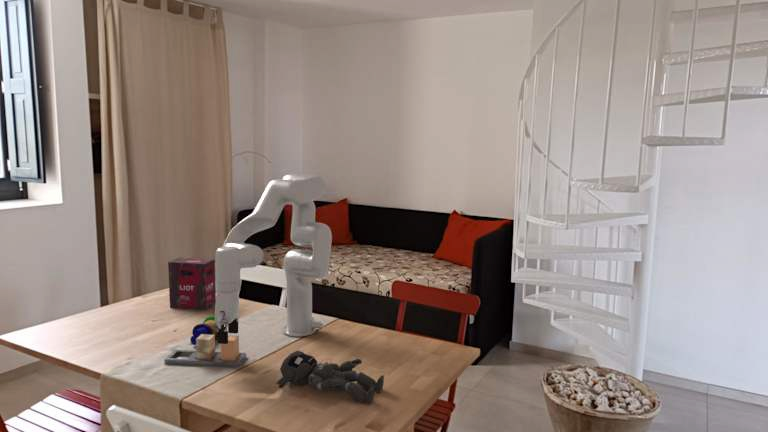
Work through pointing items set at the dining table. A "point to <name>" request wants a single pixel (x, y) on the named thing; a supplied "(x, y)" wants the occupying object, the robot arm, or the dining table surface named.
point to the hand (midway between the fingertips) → (228, 338)
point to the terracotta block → (230, 349)
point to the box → (192, 283)
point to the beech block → (205, 347)
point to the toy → (204, 329)
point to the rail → (191, 359)
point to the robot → (329, 376)
